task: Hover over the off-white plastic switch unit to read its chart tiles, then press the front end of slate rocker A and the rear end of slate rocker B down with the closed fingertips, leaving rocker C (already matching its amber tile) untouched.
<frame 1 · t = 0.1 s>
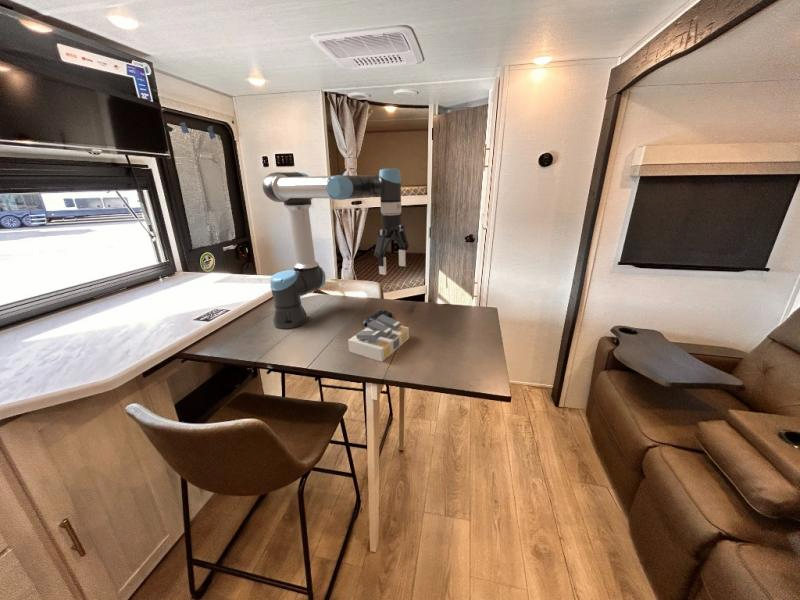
hand: (393, 269, 122), 28 cm above the table, fingers open, 13 cm apart
electronic device: (377, 323, 143), on the table
rocker b: (379, 328, 120), point 7 cm above the table, hinge at 13.0°
switch unit: (380, 344, 123), on the table
rocker c: (388, 321, 126), point 7 cm above the table, hinge at 13.0°
rocker a: (368, 334, 115), point 7 cm above the table, hinge at -13.0°
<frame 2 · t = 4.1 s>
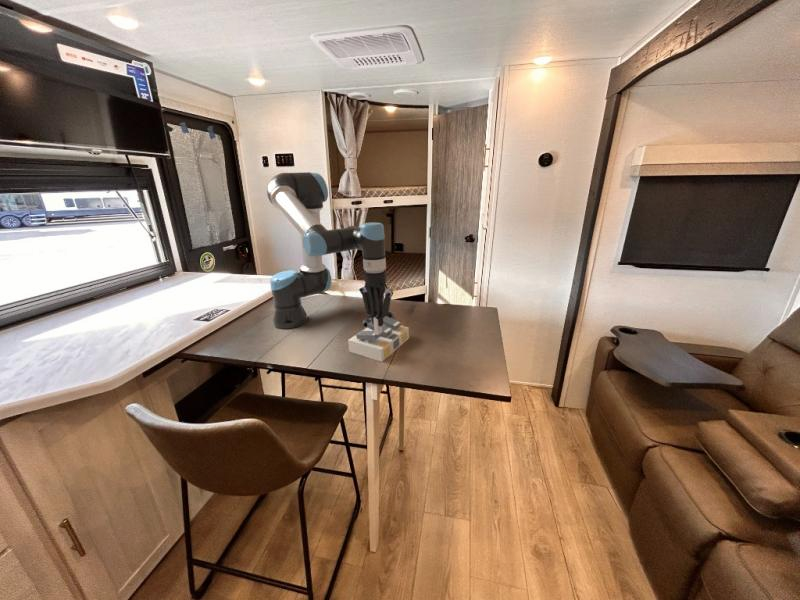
hand: (378, 333, 113), 9 cm above the table, fingers closed
rocker a: (368, 334, 115), point 7 cm above the table, hinge at -12.9°, touching gripper
everything else where it was.
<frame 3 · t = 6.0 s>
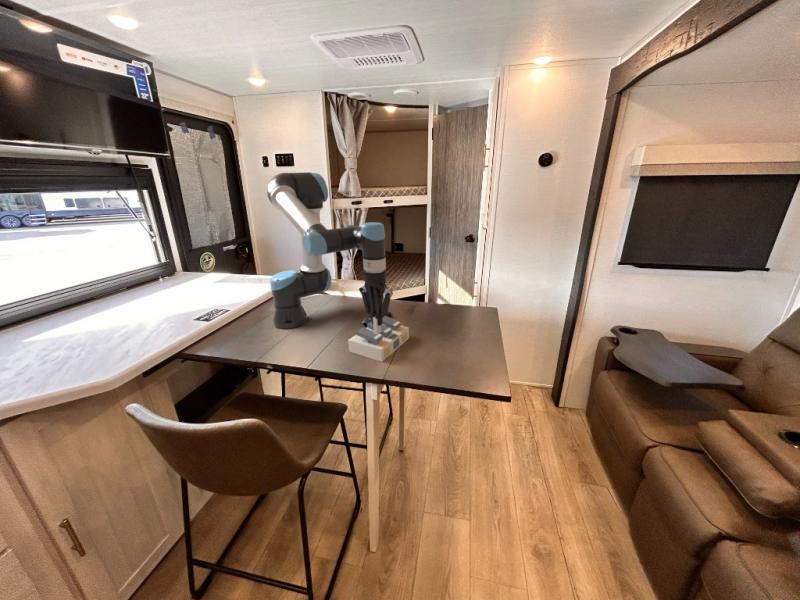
hand: (377, 332, 113), 9 cm above the table, fingers closed
rocker a: (369, 335, 115), point 7 cm above the table, hinge at 8.3°
everything else where it was.
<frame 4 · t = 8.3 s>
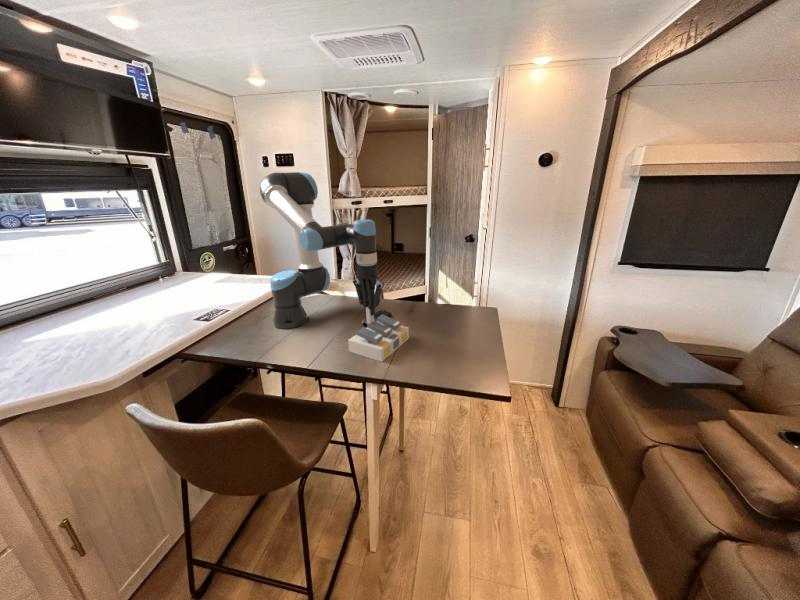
hand: (370, 322, 122), 9 cm above the table, fingers closed
rocker b: (379, 328, 120), point 7 cm above the table, hinge at 12.8°, touching gripper
rocker a: (369, 335, 115), point 7 cm above the table, hinge at 8.8°
everything else where it was.
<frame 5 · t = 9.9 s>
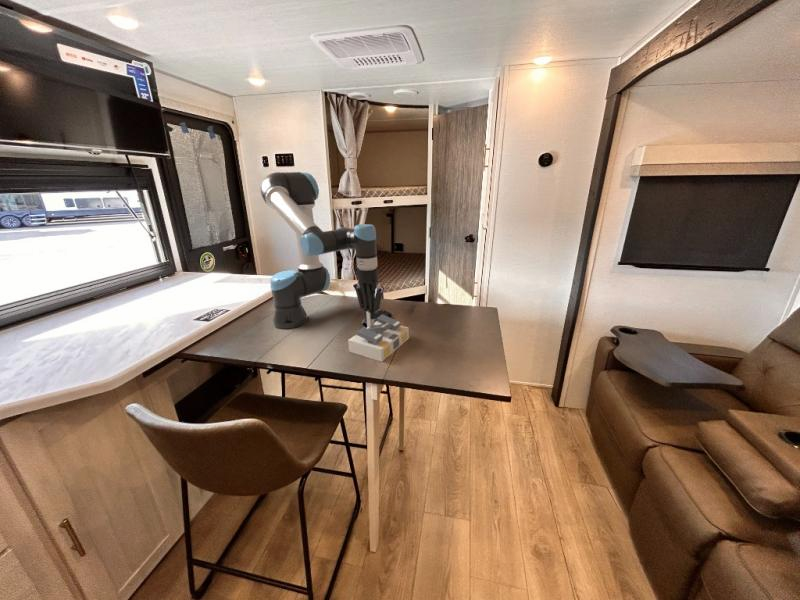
hand: (370, 325, 122), 7 cm above the table, fingers closed
rocker b: (378, 327, 121), point 7 cm above the table, hinge at -19.5°, touching switch unit
everything else where it was.
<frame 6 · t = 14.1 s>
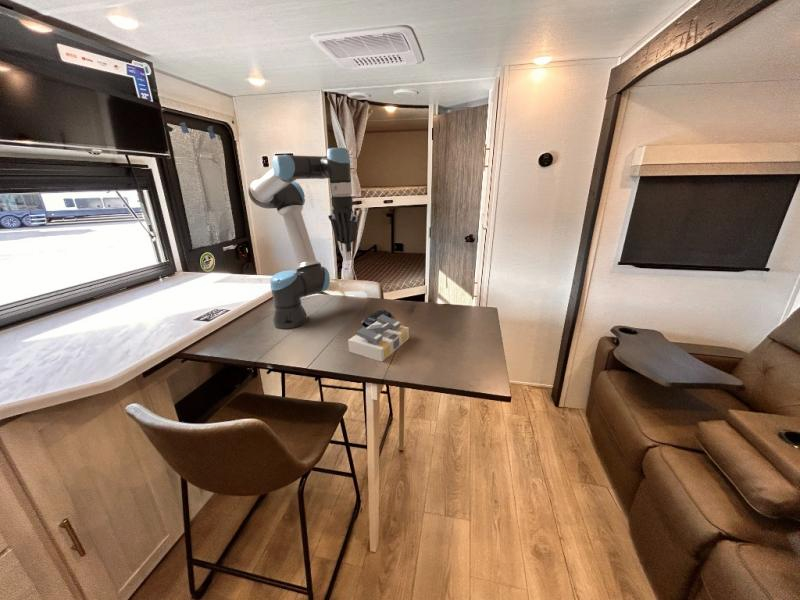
hand: (347, 259, 120), 32 cm above the table, fingers closed
rocker b: (378, 327, 121), point 7 cm above the table, hinge at -18.8°
everything else where it was.
at the end: rocker a at +9° (first picture: -13°); rocker b at -19° (first picture: +13°); rocker c at +13° (first picture: +13°) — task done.
